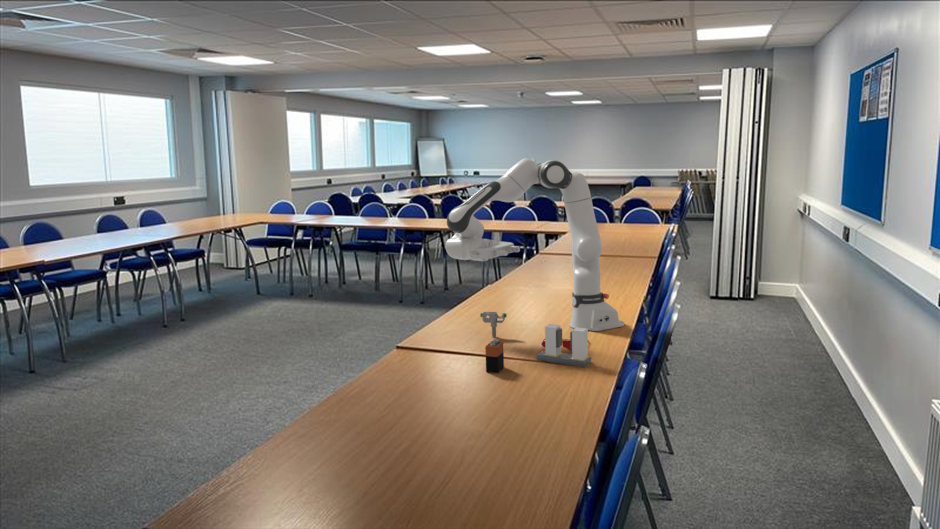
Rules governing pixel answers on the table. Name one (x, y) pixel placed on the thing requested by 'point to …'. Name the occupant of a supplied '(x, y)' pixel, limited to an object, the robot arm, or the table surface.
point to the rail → (564, 359)
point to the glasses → (565, 343)
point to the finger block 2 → (579, 343)
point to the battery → (494, 356)
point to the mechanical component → (493, 320)
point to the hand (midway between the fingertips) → (513, 251)
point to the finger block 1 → (553, 339)
